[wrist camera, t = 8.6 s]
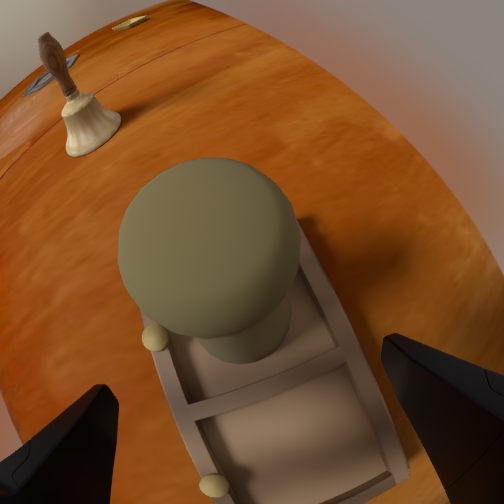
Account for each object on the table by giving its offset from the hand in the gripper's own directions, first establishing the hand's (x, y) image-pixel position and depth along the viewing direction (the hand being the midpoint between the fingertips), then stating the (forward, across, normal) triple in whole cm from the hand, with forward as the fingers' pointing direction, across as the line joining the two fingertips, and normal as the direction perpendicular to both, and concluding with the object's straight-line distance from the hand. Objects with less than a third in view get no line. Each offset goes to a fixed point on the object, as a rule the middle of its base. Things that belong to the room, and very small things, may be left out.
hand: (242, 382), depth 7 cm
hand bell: (+27, +15, -14) cm, 34 cm away
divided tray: (+6, -1, +7) cm, 9 cm away
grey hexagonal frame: (+58, +44, -46) cm, 86 cm away
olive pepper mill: (+8, 0, +3) cm, 9 cm away
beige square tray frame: (+72, +22, -61) cm, 97 cm away
